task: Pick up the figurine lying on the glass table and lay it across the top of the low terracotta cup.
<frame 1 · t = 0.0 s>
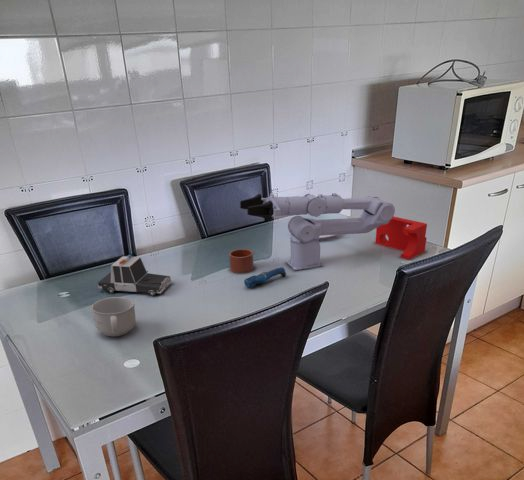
hand: (244, 207, 153), 22 cm above the table, tool horizontal, fingers open, 7 cm apart
teacup: (117, 334, 133), on the table
bracket: (394, 250, 178), on the table
figurine: (264, 282, 158), on the table
toy car: (136, 289, 158), on the table
cup: (242, 268, 168), on the table
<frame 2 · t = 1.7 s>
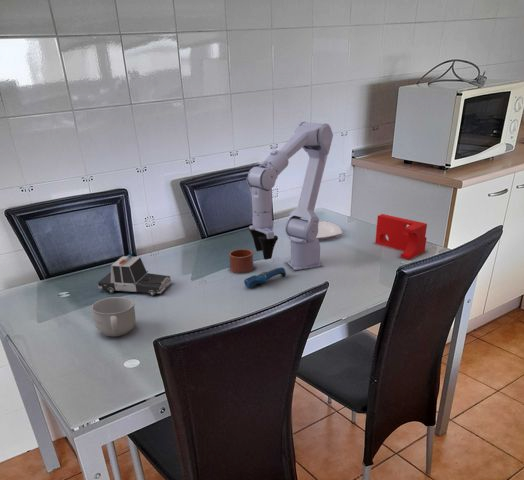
hand: (263, 254, 153), 9 cm above the table, tool pointing down, fingers open, 7 cm apart
nothing on the table moved.
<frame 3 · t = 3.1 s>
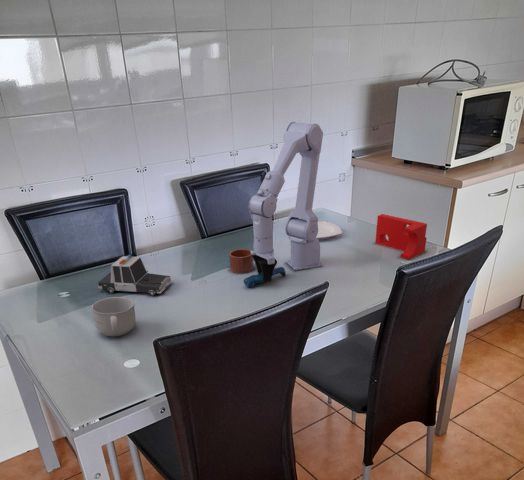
hand: (264, 278, 157), 1 cm above the table, tool pointing down, fingers closed on figurine, 5 cm apart
figurine: (264, 282, 159), on the table, touching gripper
everything else where it was.
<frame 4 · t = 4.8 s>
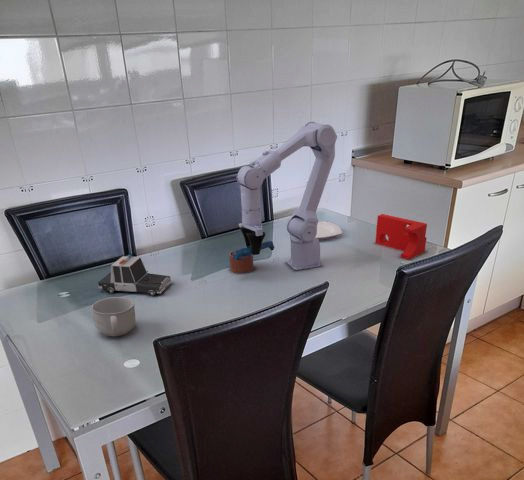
hand: (253, 251, 158), 8 cm above the table, tool pointing down, fingers closed on figurine, 5 cm apart
figurine: (253, 255, 159), point 7 cm above the table, touching gripper
everything else where it was.
when the fingers open (7 cm above the table, at t = 6.3 s): figurine stays where it is, resting on cup.
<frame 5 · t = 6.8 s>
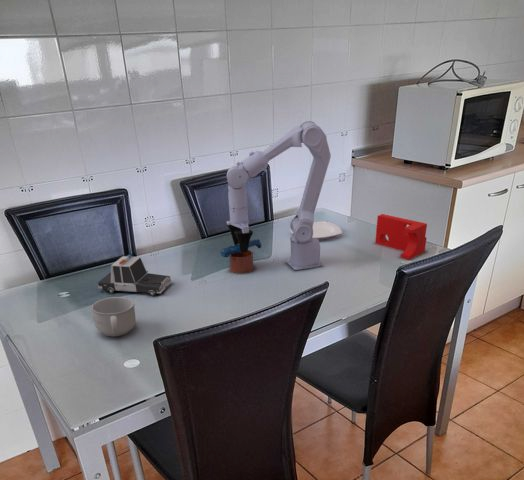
hand: (240, 248, 165), 7 cm above the table, tool pointing down, fingers open, 7 cm apart
figurine: (240, 253, 166), point 5 cm above the table, touching cup
cup: (242, 268, 168), on the table, touching figurine
everything else where it was.
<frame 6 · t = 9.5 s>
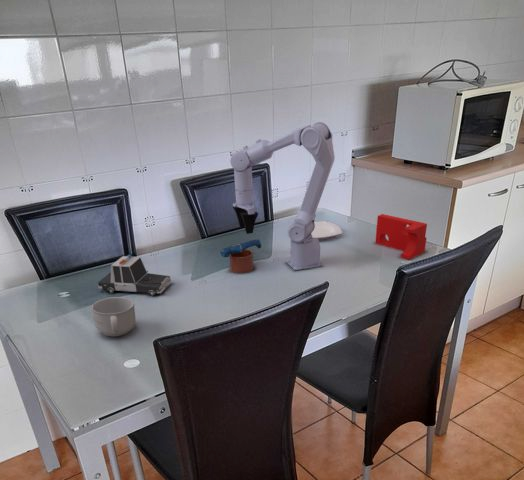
hand: (246, 229, 171), 10 cm above the table, tool pointing down, fingers open, 7 cm apart
nothing on the table moved.
at the end: figurine 0.4 cm off-centre on the cup, point 5.3 cm above the cup's base; figurine touching cup; cup tilted 0° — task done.
